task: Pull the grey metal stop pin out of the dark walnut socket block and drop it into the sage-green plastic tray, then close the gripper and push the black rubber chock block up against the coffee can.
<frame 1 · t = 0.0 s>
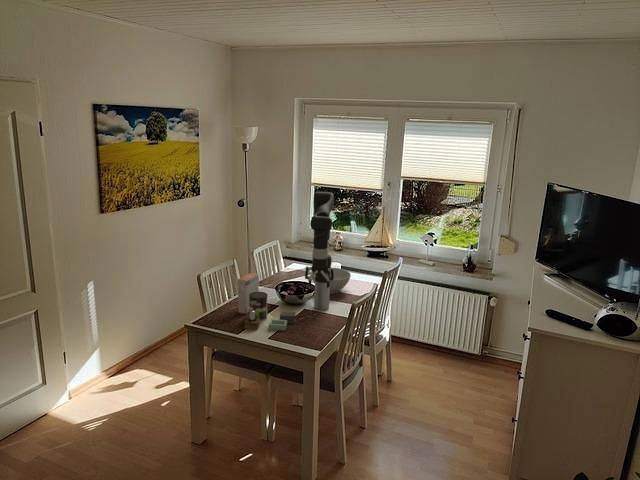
hand: (318, 287, 233), 29 cm above the table, fingers open, 8 cm apart
coffee can: (258, 318, 265), on the table
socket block: (252, 326, 253), on the table
tray: (278, 327, 253), on the table
chock: (287, 321, 263), on the table
decorative bowl: (329, 290, 312), on the table
cracker box: (248, 309, 276), on the table
pin: (252, 319, 252), in the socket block
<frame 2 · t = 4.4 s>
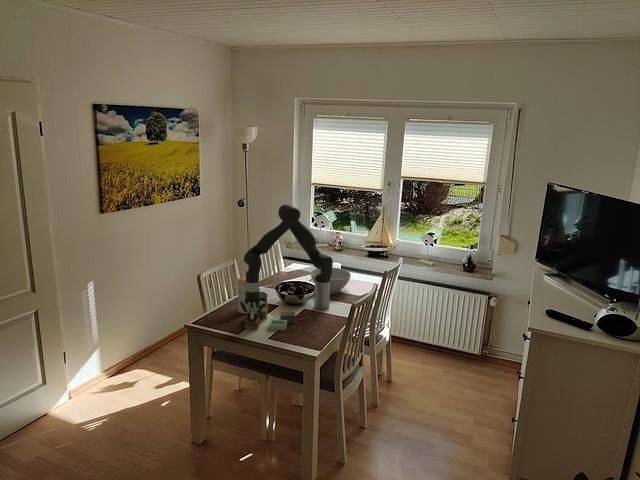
hand: (252, 318, 252), 5 cm above the table, fingers closed on pin, 2 cm apart
pin: (252, 318, 252), in the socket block, touching gripper
everything else where it was.
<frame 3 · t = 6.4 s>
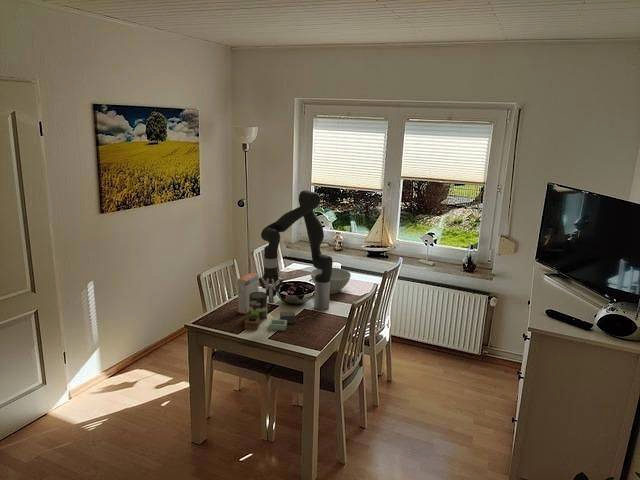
hand: (271, 295, 250), 18 cm above the table, fingers closed on pin, 2 cm apart
pin: (271, 294, 250), point 19 cm above the table, touching gripper
everything else where it was.
when the fingers open (7 cm above the table, at t = 8.9 s): pin drops 3 cm, resting on tray.
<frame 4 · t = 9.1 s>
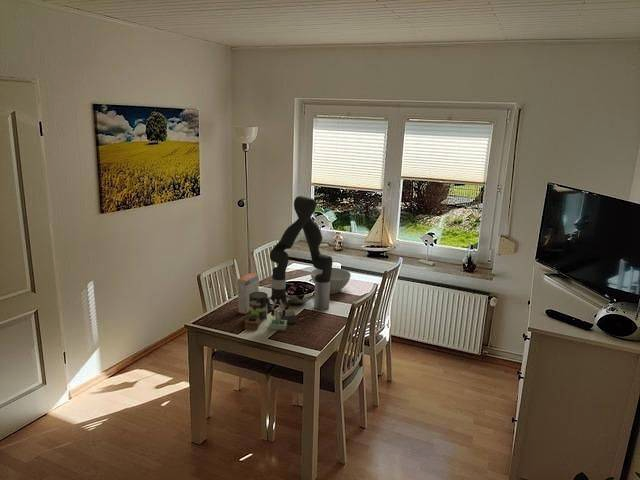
hand: (278, 315, 252), 7 cm above the table, fingers open, 4 cm apart
pin: (278, 318, 252), in the tray, point 5 cm above the table
everything else where it was.
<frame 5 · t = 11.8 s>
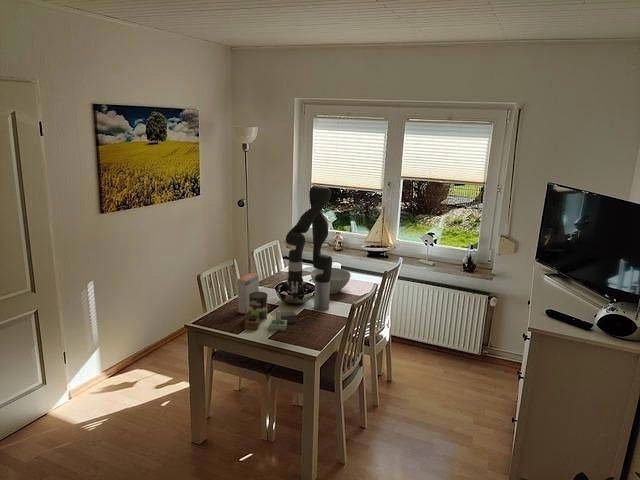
hand: (295, 298, 256), 15 cm above the table, fingers closed
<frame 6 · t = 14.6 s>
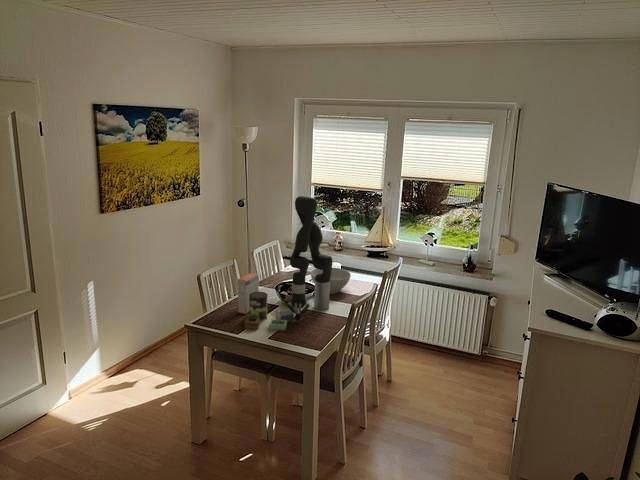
hand: (297, 319, 262), 1 cm above the table, fingers closed
chock: (285, 320, 263), on the table, touching gripper
everything else where it was.
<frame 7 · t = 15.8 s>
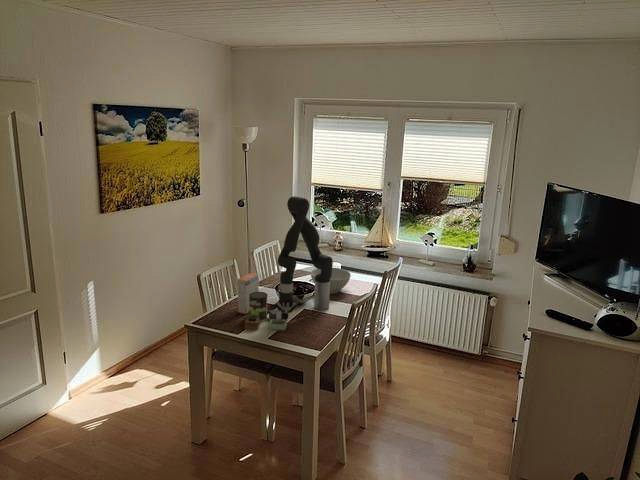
hand: (285, 319, 262), 1 cm above the table, fingers closed
chock: (277, 318, 265), on the table
everything else where it was.
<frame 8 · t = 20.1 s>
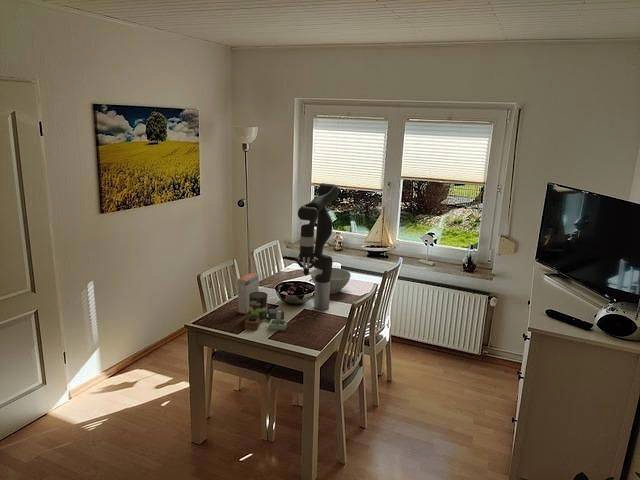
hand: (306, 274, 251), 29 cm above the table, fingers closed
chock: (275, 318, 266), on the table
everything else where it was.
at the end: pin inside the target area on the tray (0.0 cm from its centre), point 5.1 cm above the tray's base; chock 10.0 cm from the coffee can (horizontally); coffee can moved 0.2 cm from its start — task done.
